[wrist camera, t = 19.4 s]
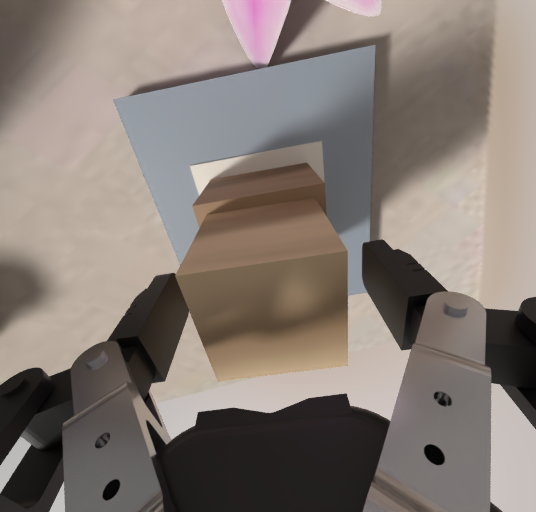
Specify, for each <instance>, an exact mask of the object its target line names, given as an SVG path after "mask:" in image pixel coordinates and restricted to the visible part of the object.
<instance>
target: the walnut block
mask: <svg viewBox="0 0 536 512" xmlns="http://www.w3.org/2000/svg"><path fill="white" fill-rule="evenodd" d="M309 198H316V200H317V202H318V203H319V205H320V207H321V208H322V210H323V211H324V213H325V215H326V216H327V212H326V193H325V183H324V181H323V180H322V179H321V178H320V177H319V176H318V175H317V173H316V172H315V171H314V170H313V169H312V168H311V167H310V165H309V164H308V163H301V164H296V165H290V166H284V167H279V168H273V169H267V170H262V171H256V172H250V173H245V174H239V175H234V176H228V177H222V178H217V179H211V180H210V181H209V183H208V184H207V186H206V187H205V188H204V190H203V191H202V193H201V194H200V196H199V197H198V198H197V200H196V201H195V203H194V204H193V205H192V207H193V210H194V213H195V216H196V219H197V222H198V225H199V228H200V226H201V224H202V222H203V220H204V219H205V217H206V215H207V214H213V213H220V212H226V211H233V210H239V209H245V208H252V207H258V206H264V205H271V204H277V203H283V202H290V201H296V200H303V199H309Z"/></svg>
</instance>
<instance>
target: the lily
mask: <svg viewBox="0 0 536 512" xmlns="http://www.w3.org/2000/svg"><path fill="white" fill-rule="evenodd" d="M326 1H328V2H330V3H332V4H334V5H336V6H338V7H340V8H343V9H345V10H348V11H351V12H353V13H356V14H360V15H364V16H369V17H373V16H377V15H380V11H381V6H382V3H381V0H326ZM222 2H223V5H224V8H225V10H226V13H227V15H228V18H229V20H230V22H231V24H232V27H233V29H234V31H235V33H236V36H237V38H238V39H239V41H240V43H241V45H242V47H243V49H244V51H245V53H246V55H247V56H248V58H249V60H250V61H251V63H252V64H253V65H254V66H255V67H256V68H257V69H261V68H266V67H267V65H268V64H269V61H270V59H271V56H272V54H273V52H274V49H275V46H276V43H277V41H278V38H279V35H280V32H281V29H282V27H283V24H284V21H285V18H286V15H287V13H288V10H289V6H290V3H291V0H222Z"/></svg>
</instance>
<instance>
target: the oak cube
mask: <svg viewBox="0 0 536 512" xmlns="http://www.w3.org/2000/svg"><path fill="white" fill-rule="evenodd" d="M175 277H176V279H177V282H178V284H179V287H180V289H181V292H182V294H183V297H184V299H185V302H186V304H187V306H188V309H189V311H190V314H191V316H192V319H193V321H194V324H195V326H196V329H197V331H198V334H199V336H200V338H201V341H202V343H203V346H204V348H205V351H206V353H207V356H208V358H209V361H210V363H211V366H212V368H213V371H214V373H215V375H216V378H217V380H218V381H225V380H233V379H241V378H250V377H258V376H266V375H274V374H282V373H291V372H299V371H307V370H315V369H324V368H332V367H340V366H347V363H348V360H347V358H348V250H347V249H346V247H345V246H344V244H343V242H342V241H341V239H340V237H339V236H338V234H337V233H336V231H335V229H334V228H333V226H332V224H331V223H330V221H329V220H328V218H327V216H326V215H325V213H324V211H323V210H322V208H321V207H320V205H319V203H318V202H317V200H316V198H309V199H303V200H296V201H290V202H283V203H277V204H271V205H264V206H258V207H252V208H245V209H239V210H233V211H226V212H220V213H213V214H207V215H206V217H205V219H204V220H203V222H202V224H201V226H200V228H199V230H198V232H197V234H196V236H195V238H194V240H193V242H192V244H191V246H190V248H189V250H188V252H187V254H186V256H185V258H184V260H183V261H182V263H181V265H180V267H179V269H178V271H177V273H176V275H175Z"/></svg>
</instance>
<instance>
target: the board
mask: <svg viewBox="0 0 536 512" xmlns="http://www.w3.org/2000/svg"><path fill="white" fill-rule="evenodd" d="M374 76H375V45H371V46H366V47H361V48H357V49H352V50H347V51H342V52H338V53H333V54H328V55H323V56H319V57H314V58H309V59H304V60H299V61H295V62H290V63H285V64H280V65H276V66H271V67H266V68H261V69H257V70H252V71H247V72H242V73H237V74H233V75H228V76H223V77H218V78H214V79H209V80H204V81H199V82H195V83H190V84H185V85H180V86H176V87H171V88H166V89H161V90H156V91H152V92H147V93H142V94H137V95H133V96H128V97H123V98H118V99H114V100H113V101H114V103H115V106H116V108H117V111H118V113H119V116H120V118H121V121H122V123H123V125H124V128H125V130H126V133H127V135H128V138H129V140H130V143H131V145H132V148H133V150H134V153H135V155H136V157H137V160H138V162H139V165H140V167H141V170H142V172H143V175H144V177H145V180H146V182H147V185H148V187H149V189H150V192H151V194H152V197H153V199H154V202H155V204H156V207H157V209H158V212H159V214H160V217H161V219H162V221H163V224H164V226H165V229H166V231H167V234H168V236H169V239H170V241H171V244H172V246H173V249H174V251H175V253H176V256H177V258H178V261H179V263H180V265H181V263H182V261H183V260H184V258H185V256H186V254H187V252H188V250H189V248H190V246H191V244H192V242H193V240H194V238H195V236H196V234H197V232H198V230H199V225H198V222H197V219H196V216H195V213H194V210H193V207H192V205H193V204H194V203H195V201H196V200H197V198H198V197H199V196H200V194H201V193H202V191H203V190H204V188H205V187H206V186H207V184H208V183H209V181H210V180H211V179H217V178H222V177H228V176H234V175H239V174H245V173H250V172H256V171H262V170H267V169H273V168H279V167H284V166H290V165H296V164H301V163H308V164H309V165H310V167H311V168H312V169H313V170H314V171H315V172H316V173H317V175H318V176H319V177H320V178H321V179H322V180H323V181H324V183H325V193H326V212H327V218H328V220H329V221H330V223H331V224H332V226H333V228H334V229H335V231H336V233H337V234H338V236H339V237H340V239H341V241H342V242H343V244H344V246H345V247H346V249H347V250H348V295H354V294H361V293H368V292H367V290H366V289H365V287H364V284H363V280H362V245H363V243H364V242H370V213H371V179H372V145H373V110H374Z"/></svg>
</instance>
